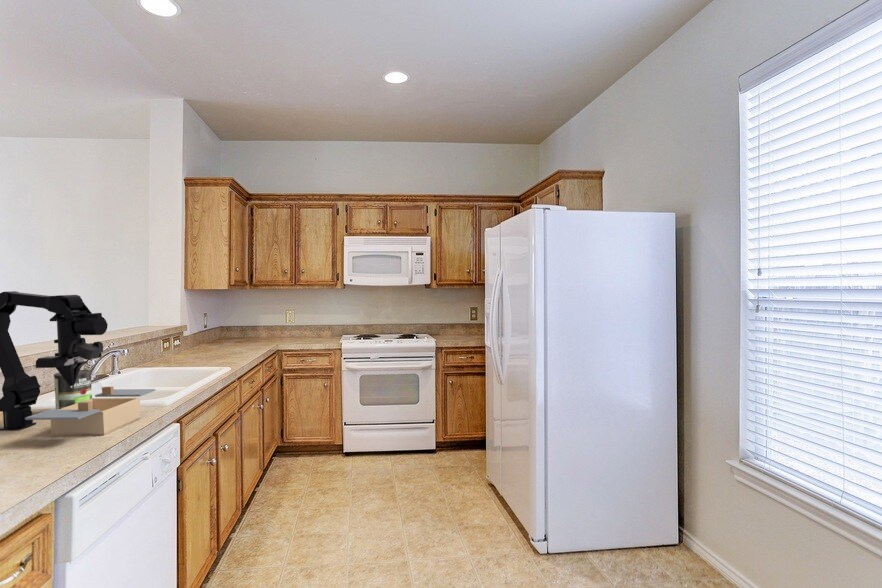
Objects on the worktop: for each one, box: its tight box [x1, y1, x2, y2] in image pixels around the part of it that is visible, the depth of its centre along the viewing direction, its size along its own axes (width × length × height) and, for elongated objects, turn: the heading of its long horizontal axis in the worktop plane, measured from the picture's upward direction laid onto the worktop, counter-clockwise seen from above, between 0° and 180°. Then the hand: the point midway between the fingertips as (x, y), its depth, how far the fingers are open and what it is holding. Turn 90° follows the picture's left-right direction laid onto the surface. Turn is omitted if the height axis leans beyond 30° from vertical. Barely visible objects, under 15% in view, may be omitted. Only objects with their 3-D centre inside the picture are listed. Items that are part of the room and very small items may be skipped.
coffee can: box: [53, 369, 93, 410], centre depth 166 cm, size 10×10×14 cm
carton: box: [50, 397, 142, 437], centre depth 149 cm, size 16×16×7 cm
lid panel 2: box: [94, 386, 156, 398], centre depth 161 cm, size 15×8×3 cm, turn 87°
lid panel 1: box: [25, 402, 100, 421], centre depth 136 cm, size 15×8×3 cm, turn 87°
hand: (71, 385), depth 149 cm, fingers closed
